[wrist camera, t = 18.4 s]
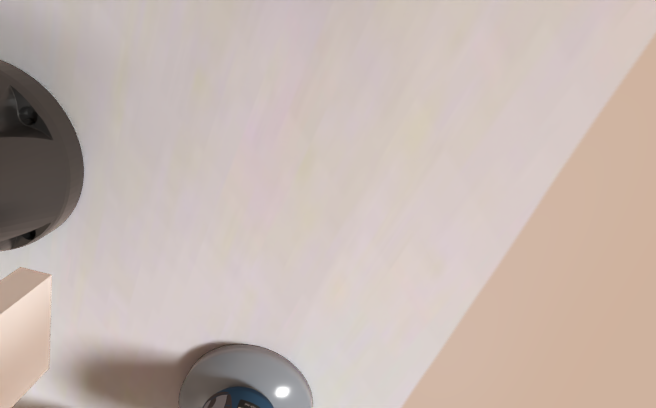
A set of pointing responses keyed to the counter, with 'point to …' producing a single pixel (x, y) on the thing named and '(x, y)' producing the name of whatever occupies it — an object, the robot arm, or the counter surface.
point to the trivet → (245, 377)
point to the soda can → (238, 398)
